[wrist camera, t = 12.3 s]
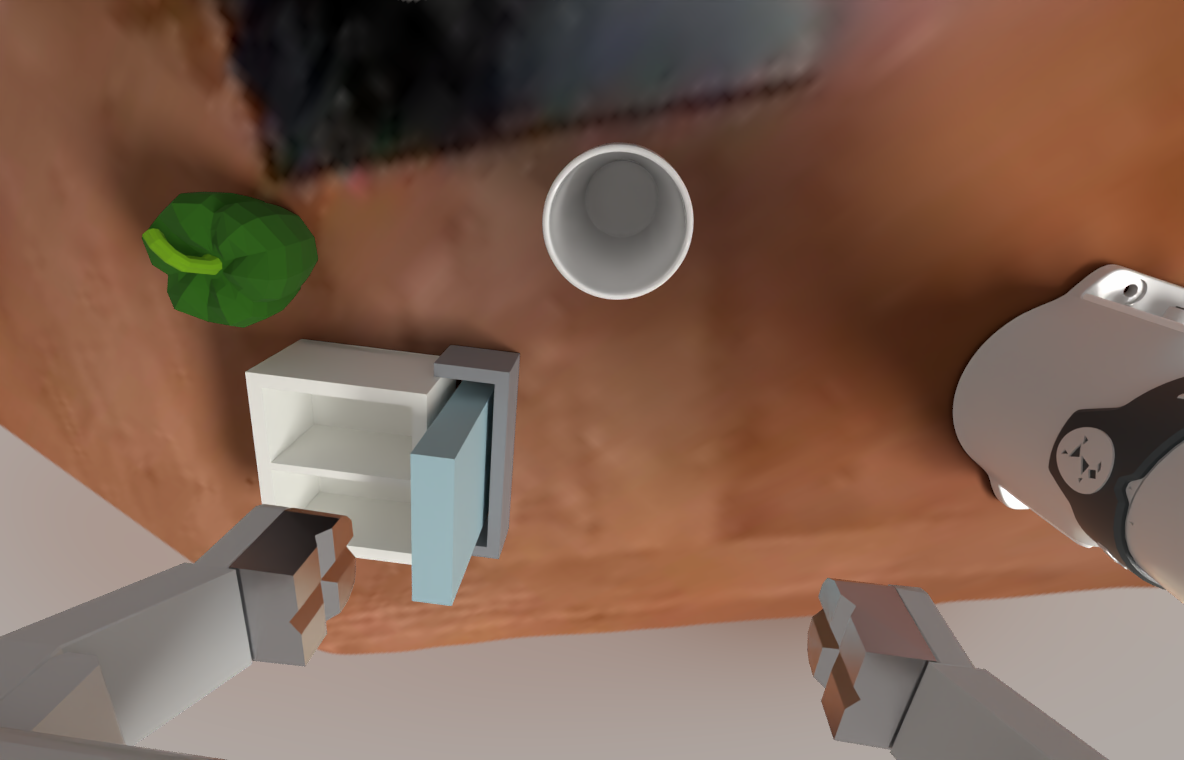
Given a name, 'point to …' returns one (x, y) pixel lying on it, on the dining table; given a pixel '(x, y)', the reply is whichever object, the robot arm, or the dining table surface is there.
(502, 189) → the dining table surface
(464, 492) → the door
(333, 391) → the cabinet
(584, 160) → the drinking glass
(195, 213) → the bell pepper
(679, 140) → the dining table surface
